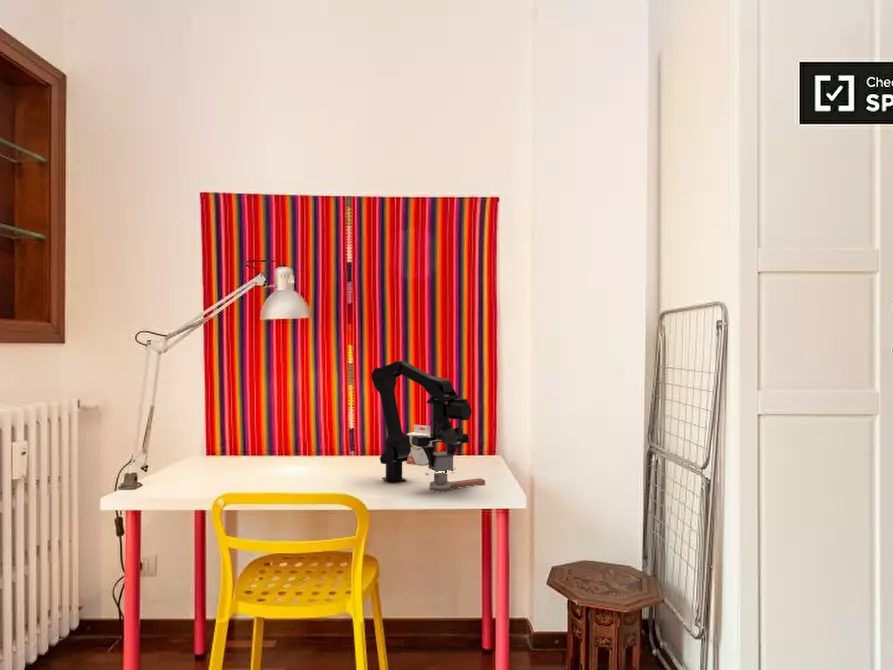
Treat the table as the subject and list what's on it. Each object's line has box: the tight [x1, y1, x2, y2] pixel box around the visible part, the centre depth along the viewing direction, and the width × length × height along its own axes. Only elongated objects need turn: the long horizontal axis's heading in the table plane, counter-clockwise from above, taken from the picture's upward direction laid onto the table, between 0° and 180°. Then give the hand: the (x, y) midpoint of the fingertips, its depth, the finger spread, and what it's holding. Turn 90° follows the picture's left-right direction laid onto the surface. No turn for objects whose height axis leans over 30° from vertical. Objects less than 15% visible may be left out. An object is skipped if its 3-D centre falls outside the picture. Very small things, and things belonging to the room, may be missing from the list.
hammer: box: [429, 472, 486, 493], centre depth 208 cm, size 20×7×5 cm, turn 118°
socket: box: [427, 450, 454, 473], centre depth 205 cm, size 6×6×5 cm
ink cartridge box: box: [406, 424, 432, 466], centre depth 246 cm, size 9×5×15 cm, turn 58°
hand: (440, 465), depth 205 cm, fingers closed on socket, 6 cm apart
